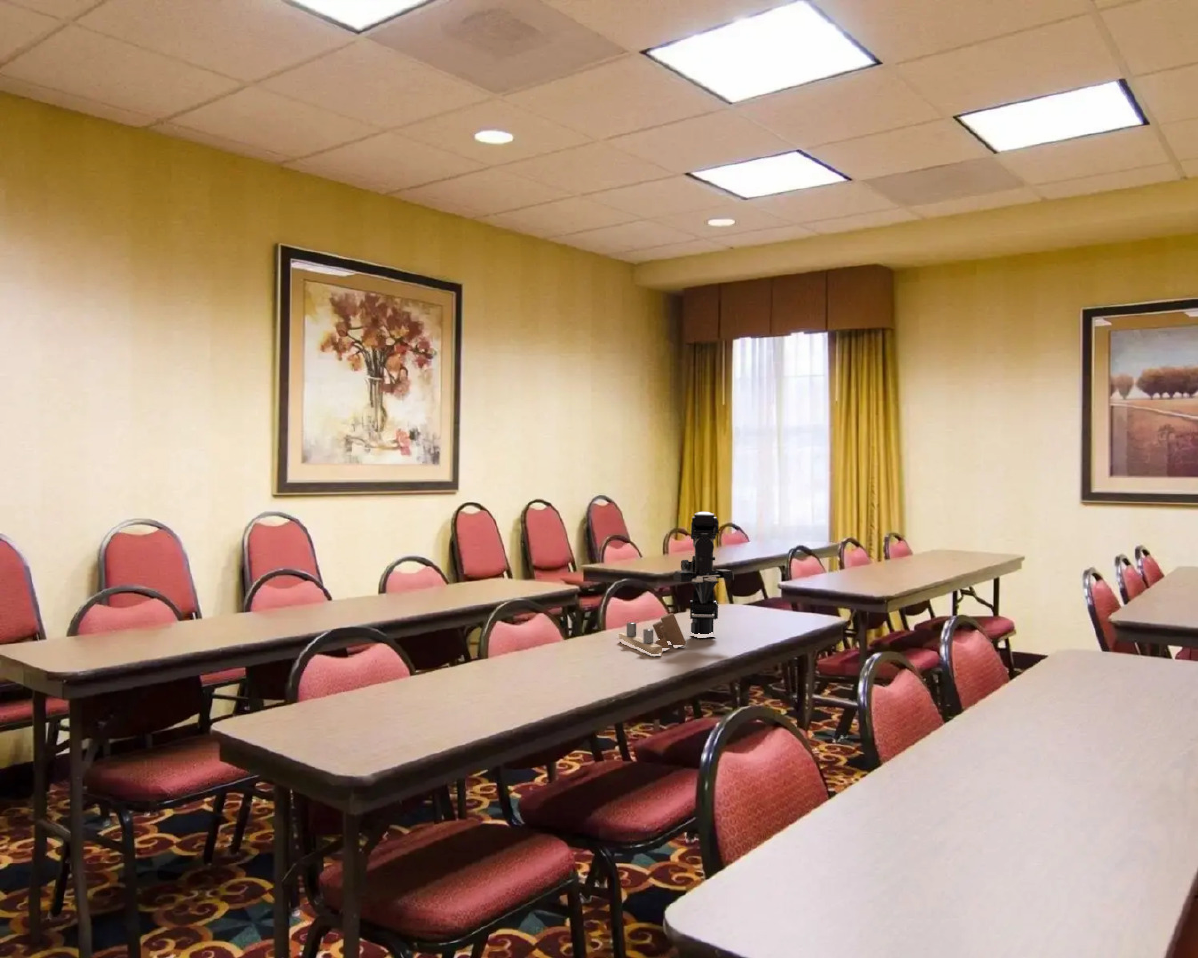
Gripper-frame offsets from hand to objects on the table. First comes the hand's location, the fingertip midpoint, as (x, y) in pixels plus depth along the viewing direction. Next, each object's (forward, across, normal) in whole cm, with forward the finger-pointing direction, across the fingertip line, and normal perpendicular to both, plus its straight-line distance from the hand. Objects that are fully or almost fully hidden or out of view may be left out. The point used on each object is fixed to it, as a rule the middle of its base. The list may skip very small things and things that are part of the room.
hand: (703, 603), depth 290 cm
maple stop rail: (+13, +22, 0) cm, 26 cm away
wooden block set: (+14, +12, -1) cm, 18 cm away
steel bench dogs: (+13, +22, 0) cm, 26 cm away
